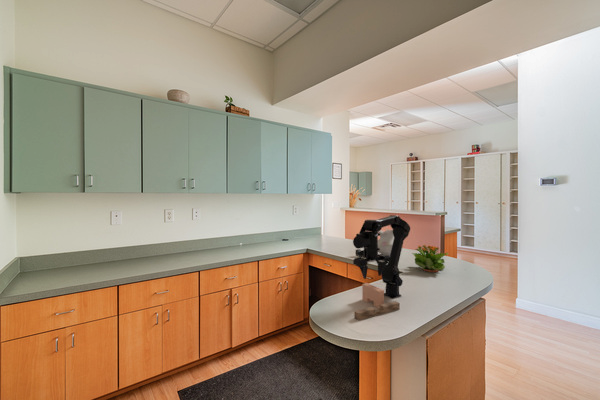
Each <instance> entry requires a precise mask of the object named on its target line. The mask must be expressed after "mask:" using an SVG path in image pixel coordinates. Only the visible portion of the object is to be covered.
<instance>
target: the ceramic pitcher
mask: <svg viewBox="0 0 600 400" xmlns="http://www.w3.org/2000/svg"><path fill="white" fill-rule="evenodd" d="M378 233H380V236H379V238H378V248H380V250H378V254H385V255H389V257H390V253H391V249H392V245H393V241H394V235H393V229H391V230H390V229H386V230H380V231H378Z"/></svg>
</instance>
